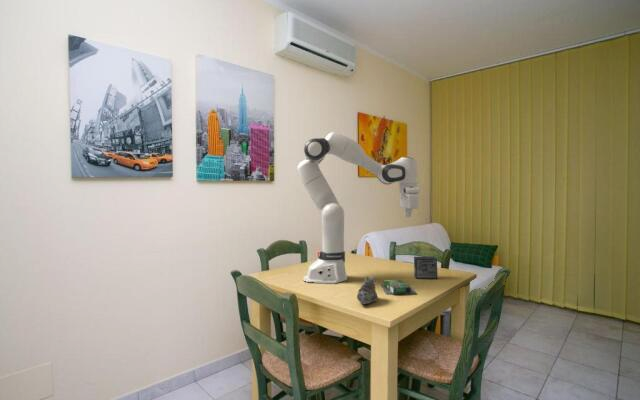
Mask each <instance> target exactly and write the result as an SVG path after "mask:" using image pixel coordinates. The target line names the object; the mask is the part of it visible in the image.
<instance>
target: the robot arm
mask: <svg viewBox="0 0 640 400" xmlns="http://www.w3.org/2000/svg"><path fill="white" fill-rule="evenodd" d="M303 148H304V149H303V153H304V154H305V157H304V159H303V160H302V161H300V162H299V164H298V165H297V170H296V171H297V172H298V176H299V178H300V181H301V182H302V184H303V186H304V188H305V190H306V192H307V193H308V195H309V196H310V198H311V200H312V202H313V203H314V205H315V206H316V209H317V210H318V212H319V214H320V215H321V240H322V242H321V245H322V246H321V248H322V249H321V250H318V251H317V255H318V258H317V259H316V260H315V261H314V262H313V263H311V264H310V265H309V267H308V268H307V269H308V270H307V273H306V274H305V275H303V279H302V281H303V280H304V281H306V282H305V283H307V282H314V283H313V284H338V283H341V282H345V281H347V280H348V274H347V272H346V271H347V270H346V264H345V263H346V252H345V210H344V208H343V206H341V204H340V202H339V201H338V199H337V197H336V195H335V194H334V192H333V190H332V188H331V186H330V184H329V182H328V181H327V179H326V177H325V176H324V174H323V172H322V170H321V169H320V166H319V165H320V164H321V162H322V161H323V160H324V159H325V158H326V156H327V155H334V156H335V157H337V158H340V159H341V160H343V161H345V162H346V163H350V164H353V165H356V166H358V167H361V168H363V169H364V170H366V171H368V172H370V173H372V174H373V175H375V177H376V178H377V179H378V180H379V182H380V183H382V184H384V185H392V184H394V183H397V182H398V183H399V184H398V185H399V186H398V188H399V189H398V191H399V192H398V193H399V194H400V198H399V205H400V207H401V208H403V209H404V211H405V217H406V218H412V212H413V210H414V209H418V207H419V194H420V188H419V186H418V181H417V180H418V178H417V177H418V164H417V160H416V159H414V158H413V157H409V156H401V157H400V158H399V159H397V160H395V161H393V162H391V163H388V164H386V165H385V164H381V163H380V162H378V161H376V160H374V159H373V158H372V157H370V156H368V155H367V153H366V152H365V150H364V149H363V147H362V146H361V145H360V144H359V143H358V142H357V141H355V140H354V139H352V138H350V137H348V136H346V135H343V134H342V133H339V132H336V131H331V132H329V133H328V134H327V135H326V137H325V138H324V137H314V138H312V139H309V140H307V141H306V143H305V144H304V147H303ZM304 281H303V282H304Z"/></svg>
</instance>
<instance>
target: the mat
mask: <svg viewBox="0 0 640 400" xmlns="http://www.w3.org/2000/svg"><path fill="white" fill-rule="evenodd" d="M405 284H406V285H408V286H410V284H408V283H405ZM383 285H384V284H380V287H381V288H382V290H383V291H384V293H385V294H386V295H394V294H393V293H392V292H390V291H389V290H388V289H387V288H385V287H384V286H383ZM417 294H418V293H417V291H415V289H414V288H412V287H411V293H403V294H402V295H417Z"/></svg>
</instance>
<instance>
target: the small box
mask: <svg viewBox="0 0 640 400" xmlns="http://www.w3.org/2000/svg"><path fill="white" fill-rule="evenodd" d="M413 263H414V264H413V266H414V267H413V268H414V269H413V270H414V271H413V273H414V275H413V276H414V278H415V279H416V280H438V258H437V257H436V256H413Z"/></svg>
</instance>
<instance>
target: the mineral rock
mask: <svg viewBox="0 0 640 400" xmlns="http://www.w3.org/2000/svg"><path fill="white" fill-rule="evenodd" d="M356 298H357V300H358V301H359V303H360V304H362V305H366V304H367V305H368V304H371V303H374V302H375V301H377V299H379V297H378V293H377V291H376V284H375V278H374V276H373V277H372V276H369V277H368V276H366V277H365V279H364V282H363V283H362V284H361V286H360V288H359V289H358V291H357V295H356Z"/></svg>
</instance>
